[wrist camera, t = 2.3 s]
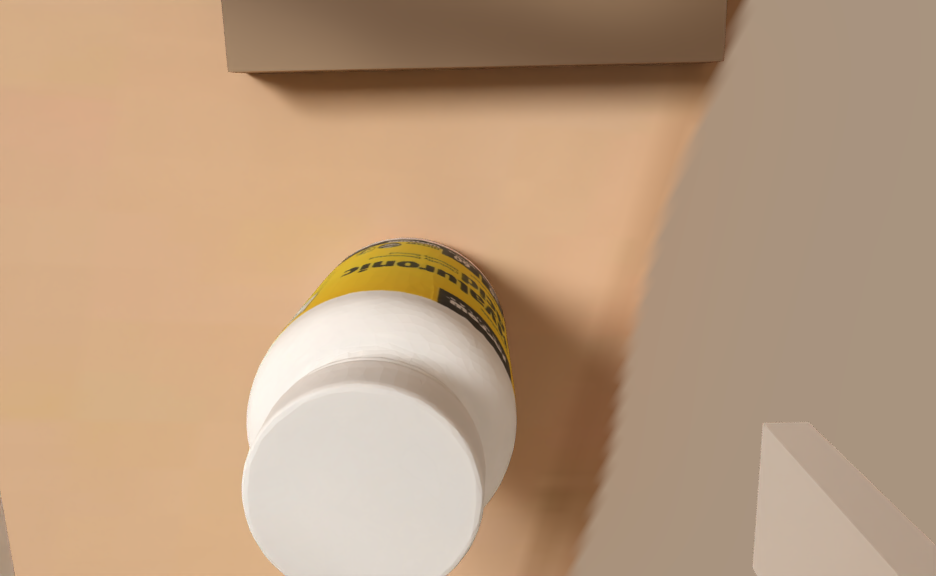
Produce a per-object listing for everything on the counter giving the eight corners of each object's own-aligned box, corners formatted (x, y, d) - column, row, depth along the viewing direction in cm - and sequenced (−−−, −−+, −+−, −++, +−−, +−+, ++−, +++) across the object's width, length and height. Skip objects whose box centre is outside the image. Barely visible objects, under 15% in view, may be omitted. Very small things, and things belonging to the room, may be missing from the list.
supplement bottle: (538, 284, 22) (590, 435, 12) (452, 444, 23) (439, 694, 14) (361, 198, 21) (273, 286, 12) (283, 366, 22) (146, 570, 13)
